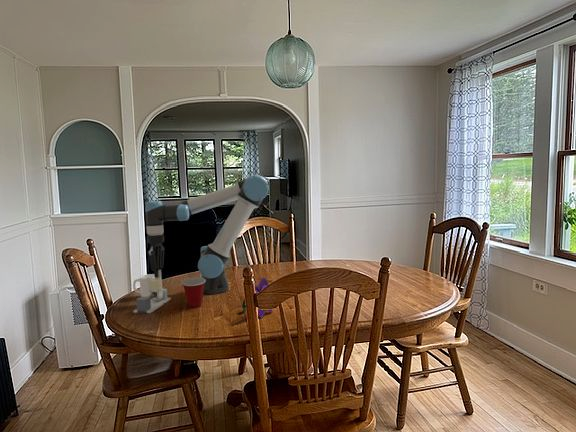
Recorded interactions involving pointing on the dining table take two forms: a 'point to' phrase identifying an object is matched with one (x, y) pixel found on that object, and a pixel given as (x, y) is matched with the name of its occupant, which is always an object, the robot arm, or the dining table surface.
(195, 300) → the plastic cup
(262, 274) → the dining table surface
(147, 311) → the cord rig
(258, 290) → the flower
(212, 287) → the robot arm
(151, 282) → the sleeve
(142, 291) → the cup
